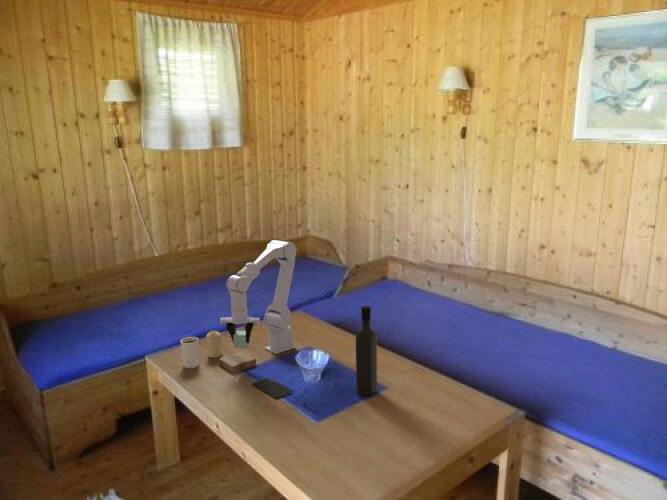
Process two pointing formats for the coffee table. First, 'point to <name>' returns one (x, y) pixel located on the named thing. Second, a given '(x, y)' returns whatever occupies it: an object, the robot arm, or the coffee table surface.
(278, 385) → the phone
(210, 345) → the candle
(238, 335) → the painted block
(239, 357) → the walnut base
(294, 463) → the coffee table surface
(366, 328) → the wine bottle
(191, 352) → the beige cup
